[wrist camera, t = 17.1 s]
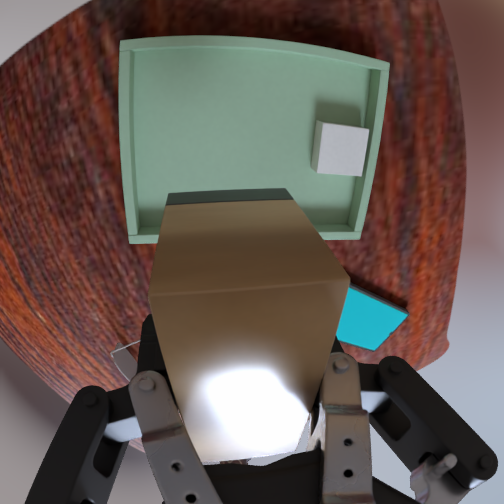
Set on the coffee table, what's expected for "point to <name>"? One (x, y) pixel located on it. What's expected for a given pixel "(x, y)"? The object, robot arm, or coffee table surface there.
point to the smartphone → (368, 319)
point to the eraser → (244, 317)
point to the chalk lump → (339, 148)
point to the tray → (243, 124)
